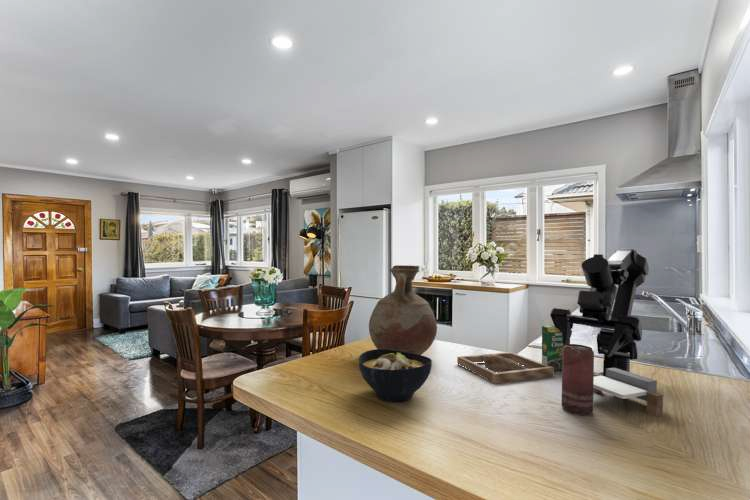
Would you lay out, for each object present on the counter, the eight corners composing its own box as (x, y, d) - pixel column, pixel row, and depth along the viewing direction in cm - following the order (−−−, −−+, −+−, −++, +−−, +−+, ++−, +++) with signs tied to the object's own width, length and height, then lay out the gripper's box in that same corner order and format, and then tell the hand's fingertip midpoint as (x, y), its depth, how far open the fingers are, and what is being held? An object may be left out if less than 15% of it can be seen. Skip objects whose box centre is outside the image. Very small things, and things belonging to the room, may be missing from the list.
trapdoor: (610, 384, 94) (611, 366, 94) (660, 401, 83) (660, 381, 83) (576, 389, 90) (577, 370, 90) (624, 408, 79) (624, 387, 79)
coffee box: (546, 371, 109) (547, 326, 109) (540, 368, 112) (541, 324, 112) (570, 370, 111) (571, 326, 111) (563, 367, 114) (564, 324, 114)
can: (554, 404, 85) (555, 342, 85) (581, 404, 85) (582, 343, 85) (571, 416, 79) (572, 349, 79) (599, 415, 79) (600, 349, 79)
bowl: (392, 378, 100) (392, 341, 100) (445, 396, 88) (446, 354, 88) (343, 393, 88) (344, 351, 88) (396, 418, 76) (398, 368, 76)
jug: (429, 350, 130) (431, 264, 130) (443, 370, 108) (445, 267, 108) (367, 349, 128) (369, 263, 129) (369, 369, 107) (371, 265, 107)
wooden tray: (510, 359, 121) (510, 351, 121) (553, 376, 105) (553, 367, 105) (457, 364, 114) (457, 356, 114) (495, 383, 98) (495, 374, 98)
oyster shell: (524, 379, 102) (525, 361, 102) (479, 371, 109) (479, 354, 109) (529, 370, 111) (529, 354, 111) (486, 363, 117) (487, 347, 117)
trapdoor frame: (594, 389, 95) (595, 372, 95) (662, 415, 80) (663, 394, 80) (589, 390, 94) (589, 372, 94) (656, 416, 80) (657, 395, 80)
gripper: (553, 276, 97) (535, 323, 89) (640, 281, 83) (628, 337, 75) (563, 304, 102) (547, 351, 94) (647, 313, 89) (635, 369, 81)
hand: (585, 351), depth 86 cm, fingers open, 9 cm apart
